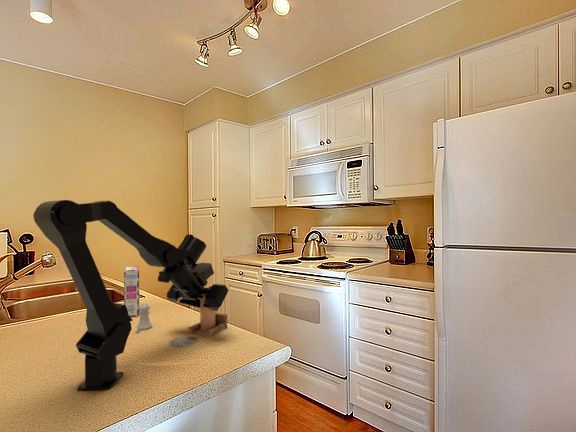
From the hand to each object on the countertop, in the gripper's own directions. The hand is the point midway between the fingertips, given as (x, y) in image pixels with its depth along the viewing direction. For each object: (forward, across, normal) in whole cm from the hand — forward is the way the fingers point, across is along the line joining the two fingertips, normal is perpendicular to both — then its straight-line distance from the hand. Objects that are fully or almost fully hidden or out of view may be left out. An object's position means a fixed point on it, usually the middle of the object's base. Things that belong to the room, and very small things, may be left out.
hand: (210, 308), depth 97 cm
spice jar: (+3, 0, +5) cm, 6 cm away
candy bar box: (+8, +40, +3) cm, 41 cm away
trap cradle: (+4, 0, +6) cm, 7 cm away
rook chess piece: (0, +19, +11) cm, 22 cm away
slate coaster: (-3, 0, +13) cm, 13 cm away
